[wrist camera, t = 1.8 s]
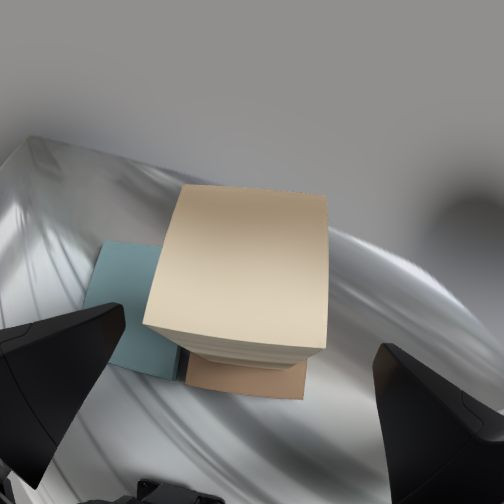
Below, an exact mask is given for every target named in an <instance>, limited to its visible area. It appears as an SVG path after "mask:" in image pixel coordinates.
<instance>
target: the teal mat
mask: <svg viewBox="0 0 504 504" xmlns="http://www.w3.org/2000/svg"><path fill="white" fill-rule="evenodd" d="M162 248H163V247H160V246H150V245H141V244H132V243H122V242H113V241H104V243H103V246H102V249H101V251H100V254H99V257H98V260H97V262H96V265H95V268H94V271H93V274H92V277H91V280H90V283H89V287H88V290H87V293H86V296H85V300H84V303H83V307H82V310H83V309H87V308H91V307H95V306H98V305H102V304H106V303H110V302H116V303H120V304H122V305H123V307H124V313H125V321H126V328H125V331H124V333H123V335H122V337H121V339H120V341H119V343H118V344H117V346H116V348H115V350H114V352H113V354H112V356H111V358H110V360H109V362H108V363H111V364H114V365H117V366H121V367H124V368H127V369H130V370H134V371H137V372H141V373H144V374H148V375H152V376H156V377H160V378H164V379H168V380H173V381H176V376H177V370H178V364H179V359H180V353H181V347H182V346H180V345H178V344H176V343H175V342H173V341H171V340H169V339H167V338H166V337H164V336H162V335H161V334H159V333H157V332H155V331H154V330H152V329H150V328H149V327H147V326H145V325H144V324H142V323H143V319H144V314H145V310H146V306H147V302H148V298H149V294H150V290H151V286H152V283H153V279H154V275H155V272H156V268H157V265H158V261H159V258H160V254H161V251H162Z"/></svg>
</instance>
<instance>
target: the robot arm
mask: <svg viewBox="0 0 504 504" xmlns="http://www.w3.org/2000/svg"><path fill="white" fill-rule="evenodd" d="M125 328H126V321H125V313H124V307H123V305H122V304H120V303H116V302H110V303H106V304H102V305H98V306H95V307H91V308H87V309H83V310H79V311H76V312H72V313H68V314H64V315H60V316H56V317H52V318H48V319H45V320H41V321H37V322H34V323H29V324H25V325H20V326H16V327H11V328H6V329H1V330H0V504H16V503H15V499H14V495H13V491H12V487H11V482H10V480H9V479H8V478H7V476H8V475H9V473H10V472H11V471H13V472H14V473H15V474H16V475H17V476H18V477H19V478H21V479H22V480H23V481H24V482H25V483H27V484H28V485H29V486H30V487H32V488H33V489H34V490H36V489H37V487H38V485H39V483H40V481H41V479H42V477H43V475H44V473H45V471H46V469H47V467H48V465H49V463H50V461H51V459H52V457H53V455H54V453H55V452H56V450H57V447H58V446H59V444H60V442H61V440H62V438H63V437H64V435H65V433H66V431H67V429H68V428H69V426H70V424H71V422H72V421H73V419H74V417H75V415H76V414H77V412H78V410H79V409H80V407H81V405H82V404H83V402H84V400H85V399H86V397H87V395H88V394H89V392H90V391H91V389H92V387H93V386H94V384H95V382H96V381H97V379H98V378H99V376H100V375H101V373H102V371H103V370H104V368H105V367H106V365H107V363H108V362H109V360H110V358H111V356H112V354H113V352H114V350H115V348H116V346H117V344H118V343H119V341H120V339H121V337H122V335H123V333H124V331H125ZM372 368H373V377H374V386H375V396H376V404H377V409H378V414H379V419H380V424H381V430H382V435H383V441H384V447H385V453H386V459H387V466H388V473H389V481H390V490H391V500H392V504H504V415H502V414H500V413H498V412H496V411H495V410H493V409H491V408H489V407H488V406H486V405H484V404H483V403H481V402H479V401H478V400H476V399H475V398H473V397H472V396H470V395H469V394H467V393H466V392H464V391H463V390H461V389H460V388H458V387H457V386H455V385H454V384H452V383H451V382H449V381H448V380H446V379H445V378H443V377H442V376H441V375H439V374H438V373H436V372H435V371H433V370H432V369H430V368H429V367H427V366H426V365H424V364H423V363H421V362H420V361H418V360H417V359H415V358H414V357H412V356H411V355H410V354H408V353H407V352H405V351H404V350H402V349H401V348H399V347H398V346H396V345H395V344H393V343H382V344H381V345H380V347H379V349H378V352H377V354H376V356H375V359H374V361H373V367H372ZM143 483H145V484H146V485H147V487H145V486H144V485H143ZM216 502H219V503H221V504H226V503H225V501H224V500H223V499H222V498H218V497H212V496H207V495H202V494H198V493H197V492H196V491H192V490H188V489H184V488H180V487H176V486H172V485H169V484H165V483H163V484H159V483H156V482H153V481H150V480H147V479H141V480H140V481H138V485H137V499H136V498H135V497H132V496H125V495H124V496H123V497H121V498H119V499H118V500H116V501H114V502H109V501H104V500H89V501H88V502H83V503H78V504H215V503H216Z"/></svg>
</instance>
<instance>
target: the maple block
mask: <svg viewBox="0 0 504 504" xmlns="http://www.w3.org/2000/svg"><path fill="white" fill-rule="evenodd" d="M327 217H328V216H327V196H323V195H314V194H306V193H297V192H288V191H278V190H267V189H255V188H242V187H241V188H240V187H227V186H209V185H187V184H183V187H182V190H181V193H180V196H179V198H178V201H177V204H176V207H175V210H174V213H173V216H172V219H171V222H170V225H169V228H168V231H167V235H166V238H165V241H164V244H163V248H162V251H161V254H160V258H159V261H158V265H157V268H156V272H155V275H154V279H153V283H152V286H151V290H150V294H149V298H148V302H147V306H146V310H145V314H144V319H143V323H142V324H144V325H145V326H147V327H149V328H150V329H152V330H154V331H155V332H157V333H159V334H161V335H162V336H164V337H166V338H167V339H169V340H171V341H173V342H175V343H176V344H178V345H180V346H182V347H184V348H185V349H187V350H189V351H191V352H193V353H195V354H197V355H199V356H201V357H203V358H204V359H206V360H208V361H212V362H219V363H225V364H232V365H239V366H247V367H256V368H265V369H275V370H287V369H289V368H291V367H293V366H294V365H296V364H298V363H300V362H302V361H304V360H306V359H307V358H309V357H311V356H313V355H315V354H316V353H318V352H320V351H322V350H323V349H325V348H326V335H327V313H328V218H327Z"/></svg>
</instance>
